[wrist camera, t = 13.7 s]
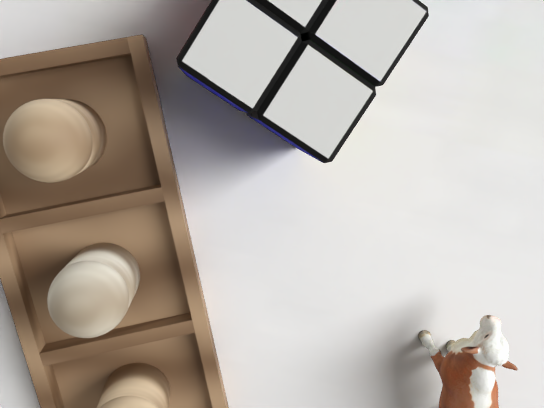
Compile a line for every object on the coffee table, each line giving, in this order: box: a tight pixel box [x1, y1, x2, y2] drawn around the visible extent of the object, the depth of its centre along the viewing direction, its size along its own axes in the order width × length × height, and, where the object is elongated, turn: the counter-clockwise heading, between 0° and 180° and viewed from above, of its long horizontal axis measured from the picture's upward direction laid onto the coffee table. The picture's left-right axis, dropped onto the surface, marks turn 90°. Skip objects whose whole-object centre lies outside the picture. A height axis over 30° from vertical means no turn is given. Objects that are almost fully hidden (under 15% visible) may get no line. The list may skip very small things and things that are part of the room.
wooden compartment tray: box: [0, 35, 229, 408], centre depth 37 cm, size 31×13×2 cm, turn 10°
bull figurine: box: [419, 315, 517, 408], centre depth 39 cm, size 4×13×8 cm, turn 3°
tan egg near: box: [3, 99, 107, 183], centre depth 32 cm, size 5×5×7 cm
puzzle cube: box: [177, 0, 429, 163], centre depth 32 cm, size 10×10×10 cm
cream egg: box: [47, 243, 140, 338], centre depth 34 cm, size 5×5×7 cm
